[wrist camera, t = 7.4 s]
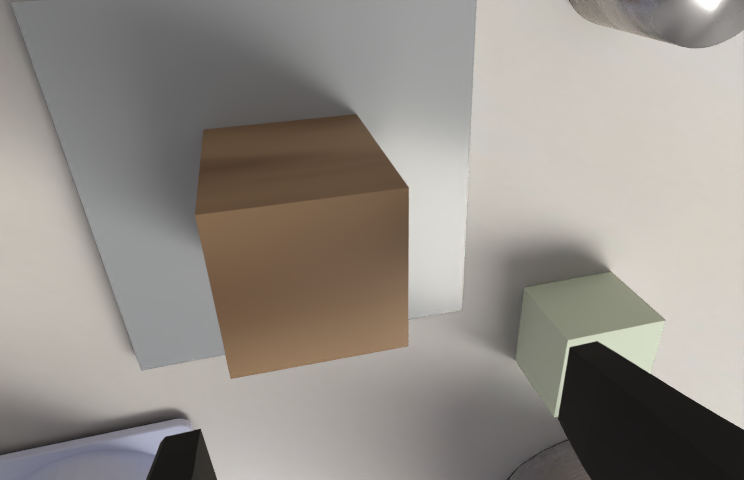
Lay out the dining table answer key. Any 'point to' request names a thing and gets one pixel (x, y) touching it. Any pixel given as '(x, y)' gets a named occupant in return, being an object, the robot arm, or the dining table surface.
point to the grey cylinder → (669, 19)
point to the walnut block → (303, 242)
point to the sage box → (582, 328)
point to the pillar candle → (553, 465)
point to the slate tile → (246, 107)
